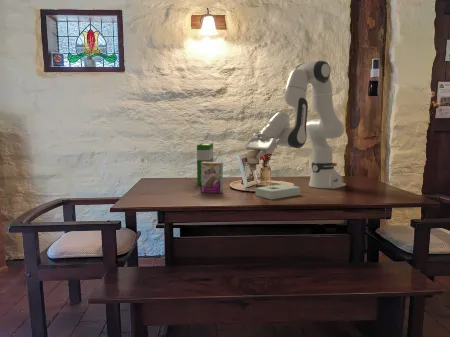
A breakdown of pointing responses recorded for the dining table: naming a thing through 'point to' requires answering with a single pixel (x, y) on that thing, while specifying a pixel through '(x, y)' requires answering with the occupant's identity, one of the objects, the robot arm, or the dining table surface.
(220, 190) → the candy bar box
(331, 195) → the dining table surface
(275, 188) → the board
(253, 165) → the peg
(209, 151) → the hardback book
